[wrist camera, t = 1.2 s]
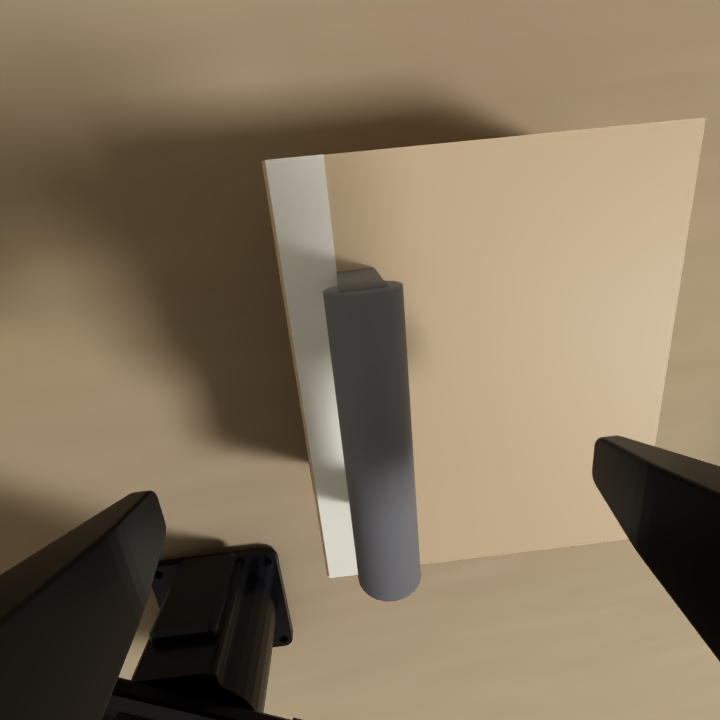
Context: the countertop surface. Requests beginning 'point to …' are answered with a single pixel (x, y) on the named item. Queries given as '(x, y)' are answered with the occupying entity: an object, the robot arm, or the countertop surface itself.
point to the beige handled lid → (477, 334)
